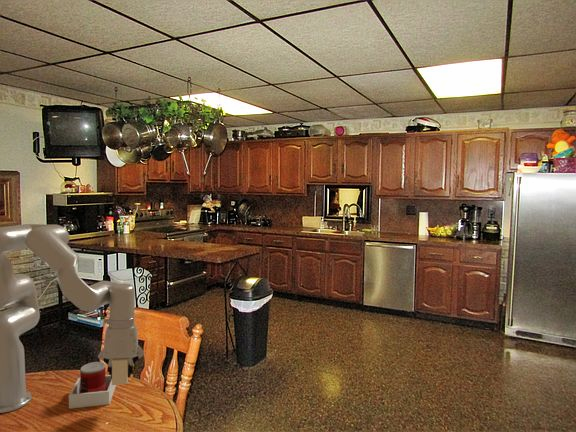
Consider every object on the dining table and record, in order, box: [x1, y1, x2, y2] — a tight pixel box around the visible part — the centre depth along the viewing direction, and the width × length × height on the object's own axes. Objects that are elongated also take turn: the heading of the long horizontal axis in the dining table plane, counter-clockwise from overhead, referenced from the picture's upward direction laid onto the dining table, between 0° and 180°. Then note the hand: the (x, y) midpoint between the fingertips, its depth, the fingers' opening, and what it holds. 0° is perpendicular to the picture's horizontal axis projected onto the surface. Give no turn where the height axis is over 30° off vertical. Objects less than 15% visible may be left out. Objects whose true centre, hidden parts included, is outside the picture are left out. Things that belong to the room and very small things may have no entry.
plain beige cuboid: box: [112, 358, 129, 386], centre depth 132 cm, size 4×7×8 cm, turn 14°
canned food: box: [79, 361, 107, 393], centre depth 140 cm, size 8×8×11 cm
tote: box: [68, 374, 117, 409], centre depth 140 cm, size 12×12×4 cm
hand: (121, 375), depth 132 cm, fingers closed on plain beige cuboid, 4 cm apart
